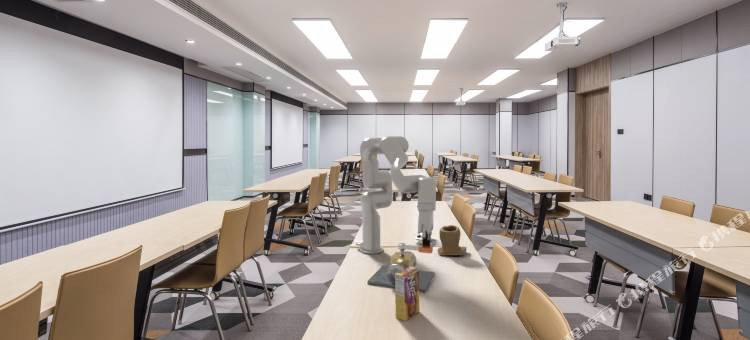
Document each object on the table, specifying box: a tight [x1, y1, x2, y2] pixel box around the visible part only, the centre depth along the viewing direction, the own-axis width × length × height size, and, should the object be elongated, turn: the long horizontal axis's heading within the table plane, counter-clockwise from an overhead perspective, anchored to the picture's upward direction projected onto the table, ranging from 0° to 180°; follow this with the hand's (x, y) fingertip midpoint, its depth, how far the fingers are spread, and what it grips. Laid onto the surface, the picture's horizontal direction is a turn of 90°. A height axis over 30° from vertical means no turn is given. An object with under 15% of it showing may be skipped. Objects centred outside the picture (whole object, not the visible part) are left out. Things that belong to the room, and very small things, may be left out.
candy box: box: [394, 266, 420, 322], centre depth 119 cm, size 9×4×15 cm, turn 140°
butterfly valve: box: [414, 205, 433, 245], centre depth 203 cm, size 9×20×17 cm
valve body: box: [367, 250, 436, 294], centre depth 148 cm, size 24×19×13 cm
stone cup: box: [436, 224, 467, 256], centre depth 179 cm, size 15×12×15 cm
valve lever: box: [397, 242, 434, 254], centre depth 146 cm, size 14×3×2 cm, turn 69°
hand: (426, 248), depth 150 cm, fingers closed
